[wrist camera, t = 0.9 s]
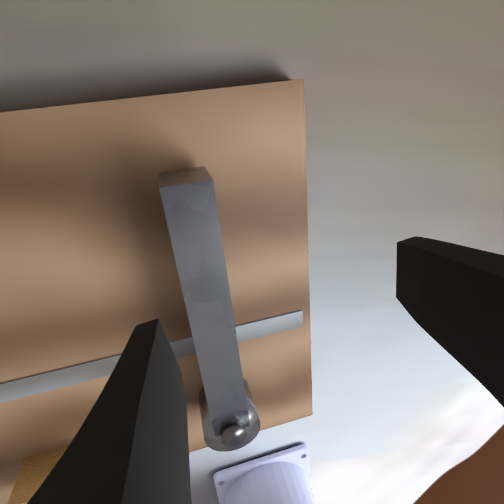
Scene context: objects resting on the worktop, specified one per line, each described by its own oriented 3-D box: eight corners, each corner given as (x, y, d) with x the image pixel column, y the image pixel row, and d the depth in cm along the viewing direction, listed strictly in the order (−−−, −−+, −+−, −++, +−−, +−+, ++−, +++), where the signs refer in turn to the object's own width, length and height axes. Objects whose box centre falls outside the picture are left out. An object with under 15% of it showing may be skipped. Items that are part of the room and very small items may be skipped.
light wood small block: (107, 461, 22) (101, 508, 19) (39, 481, 21) (24, 533, 18) (96, 437, 21) (88, 483, 18) (24, 457, 20) (5, 508, 17)
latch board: (304, 398, 26) (313, 415, 25) (-46, 501, 22) (-60, 529, 20) (291, 79, 16) (304, 78, 15) (-351, 151, 12) (-418, 158, 11)
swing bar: (251, 405, 22) (264, 447, 19) (203, 419, 21) (209, 464, 19) (217, 164, 15) (230, 179, 12) (144, 175, 15) (141, 193, 12)
